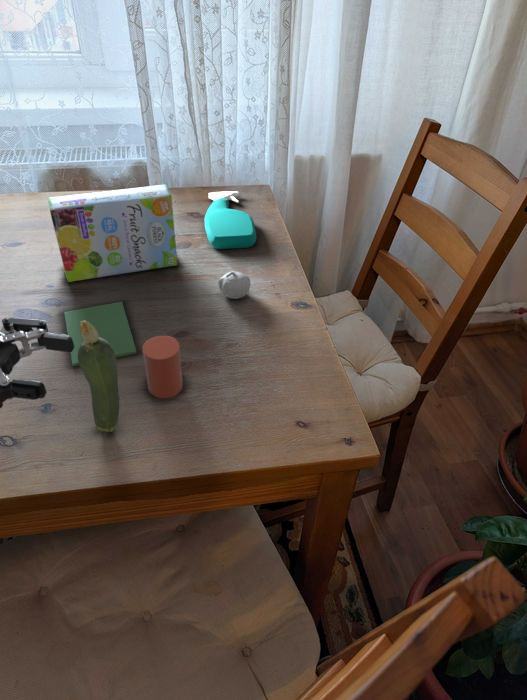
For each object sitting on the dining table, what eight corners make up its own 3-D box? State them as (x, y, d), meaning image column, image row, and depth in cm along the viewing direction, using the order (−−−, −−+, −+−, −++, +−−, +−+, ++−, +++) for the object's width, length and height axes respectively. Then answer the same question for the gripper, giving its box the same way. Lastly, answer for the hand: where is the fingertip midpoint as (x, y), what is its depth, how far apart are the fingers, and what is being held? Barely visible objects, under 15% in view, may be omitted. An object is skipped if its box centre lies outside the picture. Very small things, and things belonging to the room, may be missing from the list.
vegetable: (108, 412, 75) (82, 300, 62) (134, 421, 74) (114, 309, 61) (90, 435, 72) (59, 322, 59) (118, 444, 71) (93, 331, 58)
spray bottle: (208, 250, 109) (199, 199, 127) (259, 248, 111) (243, 198, 129) (207, 238, 107) (199, 187, 125) (260, 235, 109) (244, 186, 127)
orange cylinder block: (173, 402, 77) (169, 363, 72) (141, 393, 78) (135, 353, 73) (188, 379, 81) (185, 340, 76) (158, 370, 82) (153, 331, 77)
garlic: (220, 305, 95) (220, 281, 92) (216, 288, 99) (216, 264, 96) (253, 302, 96) (253, 278, 93) (247, 285, 100) (248, 262, 97)
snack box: (171, 252, 108) (165, 182, 98) (177, 266, 104) (172, 195, 94) (64, 268, 102) (46, 195, 92) (67, 283, 98) (48, 210, 88)
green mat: (136, 353, 85) (136, 350, 84) (72, 366, 82) (72, 364, 81) (122, 304, 94) (122, 301, 94) (64, 314, 91) (64, 311, 91)
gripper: (-112, 368, 59) (25, 385, 58) (-42, 296, 70) (75, 309, 69) (-86, 412, 64) (41, 428, 63) (-24, 338, 75) (85, 351, 74)
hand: (59, 366), depth 66 cm, fingers open, 8 cm apart
